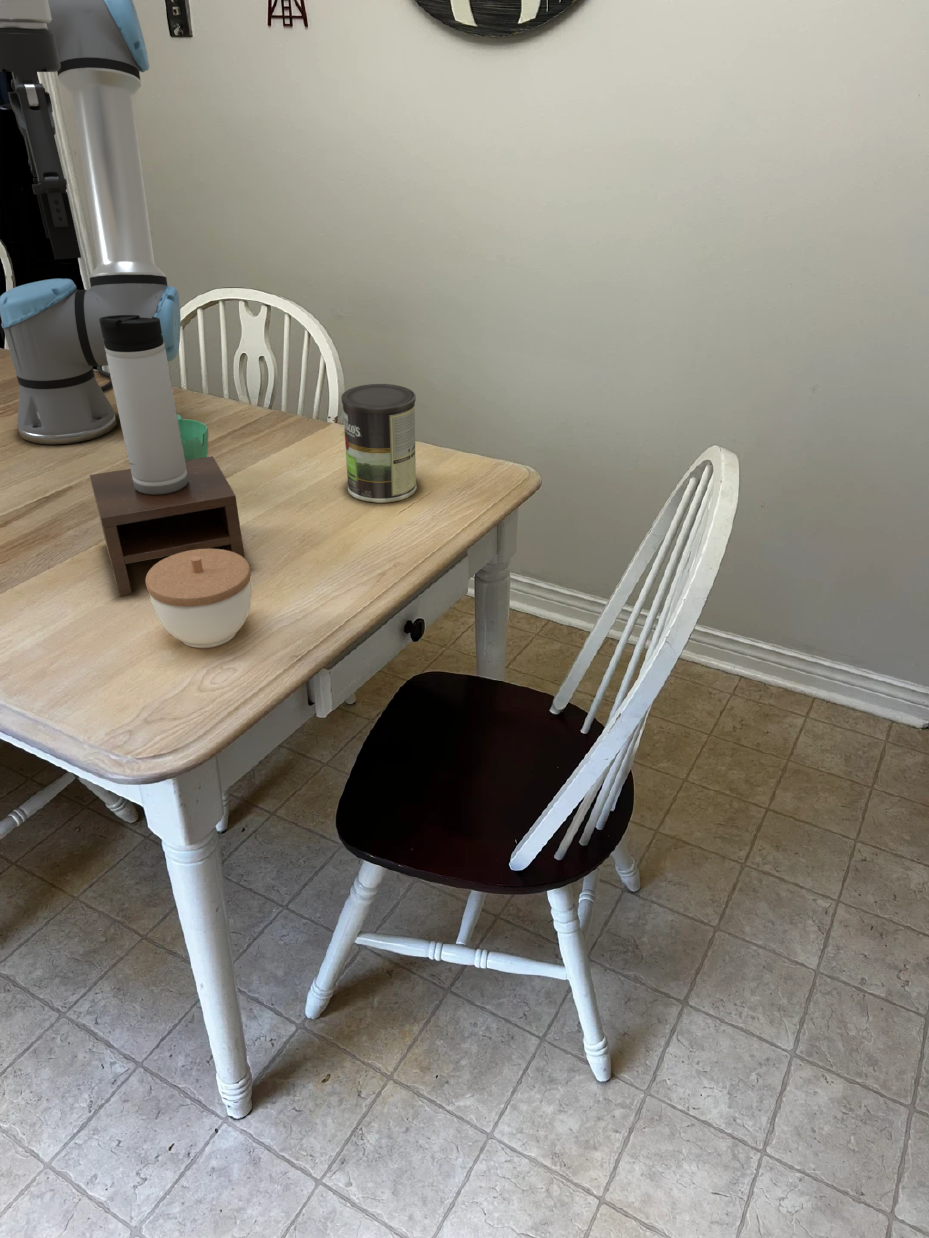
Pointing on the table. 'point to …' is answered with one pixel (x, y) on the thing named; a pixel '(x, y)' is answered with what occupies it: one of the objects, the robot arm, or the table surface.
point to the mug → (193, 438)
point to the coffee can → (380, 442)
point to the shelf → (166, 517)
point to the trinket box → (201, 595)
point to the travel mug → (145, 402)
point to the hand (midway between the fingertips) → (63, 247)
